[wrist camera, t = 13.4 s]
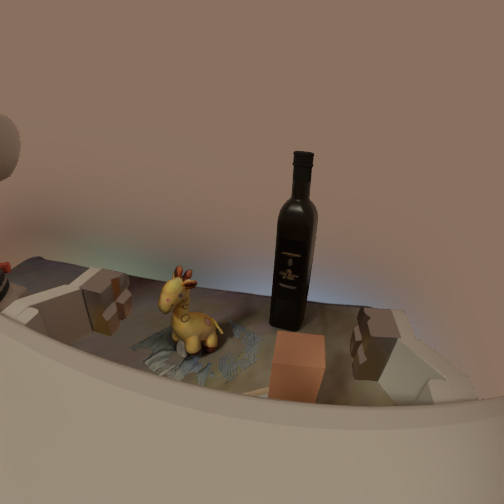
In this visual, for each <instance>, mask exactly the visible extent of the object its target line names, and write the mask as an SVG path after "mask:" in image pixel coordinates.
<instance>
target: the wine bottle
mask: <svg viewBox="0 0 504 504" xmlns="http://www.w3.org/2000/svg"><path fill="white" fill-rule="evenodd" d="M313 157H314V154H313V153H311V152H304V151H294V162H293V165H294V171H293V184H292V196H291V198H290V199H289V200H288V201H287V202H286V203H285V204H284V205H283V207H282V208H281V210H280V213H279V217H278V223H277V237H276V249H275V262H274V274H273V285H272V297H271V308H270V319H269V324H270V325H271V326H273V327H277V328H281V329H285V330H290V331H297V330H299V328H300V326H301V324H302V321H303V319H304V314H305V308H306V302H307V295H308V289H309V283H310V276H311V269H312V262H313V254H314V247H315V239H316V230H317V223H318V213H317V210H316V207H315V205H314V204H313V203H312V202H311V201H310V199H309V196H310V184H311V172H312V167H313Z"/></svg>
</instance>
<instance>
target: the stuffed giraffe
mask: <svg viewBox="0 0 504 504" xmlns="http://www.w3.org/2000/svg"><path fill="white" fill-rule="evenodd" d="M182 272H183V268H182V267H181V266H177V267H176V269H175V271H174V273H173V279H171V280H169V281H167V283H166V284H165V285H164V286H163V288H162V291H161V293H160V296H159V300H158V307H159V309H160V311H161V312H162V313H164V314H167V313H170V312H171V311H173V314H172V318H171V326H169V327H167V328H165V329H163V330H161V331H160V332H158V333H155V334H153V335H152V336H150V337H148V338H146V339H145V340H143V341H142V342H140V343H138V344H136V345H134V346H133V347H131V348H132V349H133V350H134V351H136V350H137V349H140V348H141V347H143V348H144V347H145V348H147V347H148V346H149V349H148V350H153V352H152V354H151V355H150V356H147V357H146V358H145V360H144V361H143V362H145V364H146V365H147V366H148V367H149V368H150V369H151V370H153V372H154V371H155V370H157V369H158V368H161V367H163V368H162V369H158V370H160V371H157V373H155V374H156V375H158V376H161V375H164V374H165V373H167V375H168V377H166V378H170V379H174V380H178V381H180V379H182V378H184V377H183V376H185V373H187V374H186V375H188V373H189V372H193V373H195V372H197V371H199V370H200V368H201V367H202V364H200V363H199V364H198V362H197V361H198V359H199V358H200V357H201V356H202V353H203V352H205V353H213V352H215V350H216V348H217V346H218V337H217V334H216V328H218V329H219V331H220V333H221V334H224V332H223V331H222V329H221V328H220V327H219V325H218V324H217V322H216V321H215V320H214V319H213V318H211V317H208V316H207V315H206V314H204V313H203V311H202V312H189V304H190V297H189V294H190V289H192V288H194V287H195V286H196V285H197V282H196V281H195V280H190V278H191V275H192V270H187V271H186V272H185V273H184V275H183V276H182ZM226 319H227V318H226ZM229 321H230V322H229V323H228V324H232V326H233V327H232V328H234V329H233V332H234V333H232V334H235V335H233V336H236V337H237V336H240V335H238V334H242V333H241V331H244V332H245V330H246V329H245V328H243V327H242V326H240V325H239V324H237V323H234V322H232V321H231V320H229ZM228 326H229V325H228ZM244 329H245V330H244ZM231 331H232V330H231ZM248 332H250V331H248ZM248 332H247V333H245V335H244V338H245V337H247V338H248V339H249V341H246V340H245V339H243V340H242V342H247V343H248V344H247V343H246V344H247V345H248V346H246V347H245V348H246V349H245V350H244V351H246V354H245V355H244V356H245V357H248V361H246V360H243V359H242V360H238V361H229V362H230V363H227V360H226V359H236V358H226V357H232V356H234V355H229V356H225V357H223V358H224V359H220V360H224V361H221V362H222V363H221V362H219V367H220V368H219V369H221V372H222V375H223V376H225V377H223V379H225V378H227V379H229V381H230V380H231V379H233V378H234V377H235V374H234V375H233V378H232V375H230V378H228V376H229V375H228V374H232V370H233V372H234V373H236V371H235V369H237V368H236V367H239V366H241V367H242V370H245V369H246V368H247V367H248V366H250V365H251V364H253V363H254V362H255V361H257V360H258V359H257V358H256V356H255V354H257V353H258V349H259V345H260V342H261V341H263V339H261V338H260V337H259V336H258V335H257V334H254V333H253V332H250V333H249V334H248ZM250 335H252V336H251V337H248V336H250ZM231 336H232V335H231ZM231 338H233V337H231ZM237 338H240V337H237ZM233 342H234V341H233ZM263 342H264V341H263ZM233 344H234V343H233ZM175 350H176V352H177V353H178V355H179V356H181V357H182V358H184V360H183V362H182V363H181V364H180V365H179V366H178V365H177V367H176V368H175V370H174V369H171V368H172V367H174V366H175V365H176V364H173V365H171V366H170V365H169V366H168V365H167V364H165V360H166V359H167V360H168V359H169V357H168V355H169V354H171V353H173V352H174V351H175ZM241 353H242V352H241ZM230 354H231V353H230ZM190 356H191V357H190ZM188 357H189V358H188ZM238 357H240V356H239V355H238ZM187 358H188V359H187ZM244 359H246V358H244ZM240 361H241V362H240ZM234 362H240V363H234ZM224 363H225V364H224ZM164 364H165V365H166V366H165V365H164ZM239 364H241V365H239ZM210 365H212V363H210V364H209V363H208V365H207V366H206V367H204V368H203V369H202V370H200V371H199V373H198V374H197V375H196V376H197V381H199V383H198V385H199V386H204V383H205V381H206V379H207V375H208V372H209V371H210V369H209V367H210ZM164 366H165V367H164ZM226 367H227V368H226ZM190 368H191V369H190ZM170 369H171V370H173V371H169V370H170ZM188 370H189V371H188ZM240 372H241V371H240ZM219 373H220V370H219ZM224 373H225V374H224ZM237 375H238V374H237ZM237 375H236V376H237ZM209 376H210V378H211V377H214V376H215V375H214V372H210V375H209ZM162 377H163V376H162ZM220 378H221V377H220ZM218 379H219V378H218ZM229 381H227V382H229ZM227 382H226V383H227ZM226 383H225V384H226Z"/></svg>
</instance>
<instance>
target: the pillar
mask: <svg viewBox="0 0 504 504" xmlns="http://www.w3.org/2000/svg"><path fill="white" fill-rule="evenodd" d="M324 372H325V339H324V335H315V334H305V333H296V332H287V331H278V332H277V338H276V344H275V350H274V355H273V361H272V369H271V377H270V384H269V392H268V398H272V399H279V400H287V401H296V402H306V403H315V401H316V398H317V395H318V392H319V388H320V385H321V382H322V378H323V375H324Z"/></svg>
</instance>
